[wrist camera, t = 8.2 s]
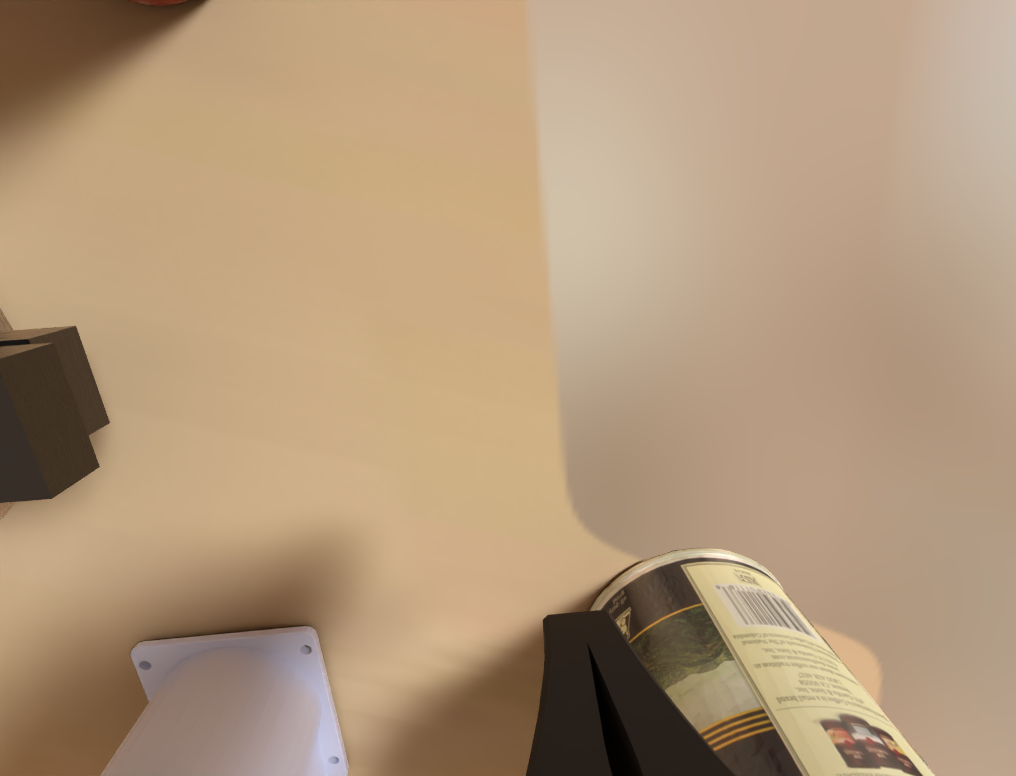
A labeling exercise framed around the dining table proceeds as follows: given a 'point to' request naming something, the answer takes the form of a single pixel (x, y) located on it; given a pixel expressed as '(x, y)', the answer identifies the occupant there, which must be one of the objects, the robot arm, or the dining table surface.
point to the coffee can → (752, 669)
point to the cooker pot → (73, 366)
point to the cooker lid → (39, 426)
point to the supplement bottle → (159, 2)
